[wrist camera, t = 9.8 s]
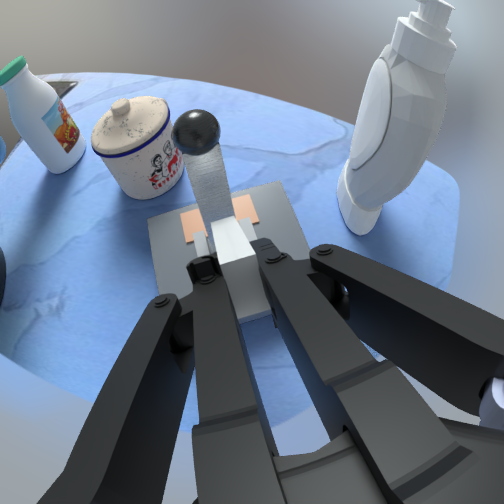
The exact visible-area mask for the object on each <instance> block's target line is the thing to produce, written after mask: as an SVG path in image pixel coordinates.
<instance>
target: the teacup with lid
mask: <svg viewBox="0 0 504 504" xmlns="http://www.w3.org/2000/svg"><path fill="white" fill-rule="evenodd" d="M172 130H173V127H172V124H171V120H170V110H169V107H168V104H167V102H166V100H165V99H162V98H156V97H152V96H141V97H135V98H132V99H129V100H128V99H125V98H123V99H119V100H117V101H116V102H114V103H113V104H112V106H111V109H110V110H109V111H108V112H106V113H105V114H104V115H103V116H102V117H101V118H100V120H99V121H98V122H97V124H96V125H95V127H94V129H93V132H92V136H91V143H92V148H93V150H94V152H95V153H96V154H97V155H99V156H100V157H101V158H102V160H103V162H104V163H105V165H106V166H107V168H108V169H109V171H110V172H111V174H112V175H113V177H114V178H115V179H116V181H117V182H118V184H119V185H120V187H121V188H122V190H123V191H124V192H125V193H126V194H127V195H128V196H130V197H132V198H135V199H140V200H145V199H151V198H155V197H157V196H160V195H162V194H164V193H165V192H167V191H168V190H169V189H171V188H172V187H173V186H174V185H175V184H176V183H177V181H178V180H179V178H180V177H181V175H182V172H183V168H184V160H183V157H182V154H181V151H180V150H179V149H178V148H177V147H176V145H175V144H174V141H173V138H172Z"/></svg>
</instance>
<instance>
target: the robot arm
mask: <svg viewBox="0 0 504 504" xmlns="http://www.w3.org/2000/svg"><path fill="white" fill-rule="evenodd" d="M5 155H6V145H5V143H4V141H3V139H2V137H1V136H0V164H1V162H2V161H3V160H4V158H5ZM211 227H212V232H213V237H214V242H215V247H216V251H217V252H216V253H213V254H210V255H204V256H200V257H198V258H195V259H193V260H192V261H190V262H189V263H188V264H187V266H186V268H187V271H188V274H189V276H190V279H191V282H192V284H193V291H192V292H191V293H190V294H188V295H187V296H185V297H183V298H181V299H179V300H178V297H177V296H176V294H173V293H166V294H161V295H159V296H157V297H155V298H154V299H153V300H151V301H150V303H149V304H148V305H147V307H146V309H145V310H144V312H143V314H142V315H141V317H140V319H139V321H138V322H137V324H136V326H135V328H134V329H133V331H132V333H131V335H130V336H129V338H128V340H127V342H126V344H125V345H124V347H123V349H122V351H121V353H120V354H119V356H118V358H117V360H116V362H115V364H114V366H113V367H112V369H111V371H110V373H109V375H108V377H107V379H106V381H105V383H104V385H103V387H102V389H101V391H100V393H99V395H98V397H97V399H96V401H95V403H94V405H93V407H92V409H91V411H90V413H89V415H88V417H87V419H86V421H85V423H84V425H83V428H82V430H81V432H80V434H79V436H78V439H77V441H76V443H75V445H74V448H73V450H72V452H71V455H70V457H69V459H68V462H67V464H66V466H65V469H64V471H63V472H62V473H61V475H60V476H59V477H58V478H57V479H56V481H55V482H54V483H53V484H52V486H51V487H50V488H49V489H48V490H47V492H46V493H45V494H44V495H43V496H42V498H41V499H40V500H39V501H38V503H37V504H161V503H162V500H163V495H164V490H165V486H166V481H167V477H168V473H169V468H170V464H171V460H172V455H173V451H174V447H175V442H176V438H177V434H178V430H179V426H180V422H181V418H182V414H183V410H184V406H185V402H186V398H187V394H188V390H189V386H190V382H191V379H192V375H193V371H194V367H195V369H196V385H197V398H198V411H199V424H198V425H194V426H193V428H192V445H193V456H194V468H195V476H196V485H197V494H198V497H197V499H196V500H195V501H194V502H193V503H192V504H504V320H503V319H501V318H498V317H497V316H495V315H493V314H491V313H489V312H487V311H485V310H482V309H481V308H478V307H476V306H474V305H472V304H470V303H468V302H466V301H464V300H462V299H459V298H457V297H455V296H453V295H451V294H449V293H446V292H444V291H442V290H440V289H438V288H436V287H433V286H431V285H429V284H427V283H424V282H422V281H420V280H418V279H415V278H413V277H411V276H409V275H406V274H404V273H402V272H399V271H397V270H395V269H392V268H390V267H388V266H385V265H383V264H381V263H378V262H376V261H373V260H371V259H369V258H366V257H364V256H361V255H359V254H357V253H354V252H352V251H349V250H347V249H344V248H342V247H339V246H337V245H333V244H324V245H323V244H322V245H319V246H317V247H315V248H313V249H311V250H310V252H309V256H310V259H303V260H293V258H292V257H291V256H290V255H289V254H287V253H284V252H280V251H279V249H278V248H277V247H276V246H275V245H274V244H273V242H272V241H271V240H270V239H268V238H260V239H257V240H254V241H250V242H249V241H248V239H247V238H246V236H245V234H244V232H243V231H242V229H241V227H240V225H239V224H238V222H237V220H236V218H235V217H234V216H231V217H228V218H224V219H221V220H218V221H214V222H211ZM4 285H5V258H4V254H3V251H2V249H1V248H0V304H1V300H2V296H3V291H4ZM344 286H345V287H346V289H347V291H348V292H346V291H345V288H344ZM268 303H269V304H268ZM269 305H270V307H269ZM270 308H271V312H272V316H273V320H274V324H275V328H278V329H279V331H280V333H281V335H282V337H283V339H284V342H285V344H286V346H287V348H288V350H289V352H290V354H291V357H292V359H293V361H294V363H295V365H296V367H297V369H298V372H299V374H300V376H301V378H302V380H303V382H304V384H305V387H306V389H307V391H308V393H309V395H310V397H311V399H312V401H313V404H314V406H315V408H316V410H317V412H318V414H319V416H320V418H321V420H322V423H323V425H324V427H325V429H326V431H327V433H328V435H329V438H330V441H331V442H329V443H328V444H327V445H325V446H323V447H322V448H320V449H319V450H317V451H315V452H312V453H307V454H299V455H289V456H279V453H278V450H277V447H276V444H275V441H274V438H273V435H272V431H271V428H270V425H269V422H268V419H267V416H266V412H265V409H264V406H263V403H262V399H261V396H260V393H259V389H258V386H257V383H256V379H255V376H254V373H253V369H252V366H251V362H250V359H249V356H248V352H247V349H246V345H245V342H244V338H243V335H242V331H241V327H240V324H239V321H238V319H239V318H242V317H246V316H249V315H252V314H255V313H259V312H262V311H265V310H268V309H270ZM360 340H361V341H363V342H364V343H365V344H367V345H368V346H370V347H371V348H372V349H374V350H375V351H377V352H378V353H379V354H381V355H382V356H384V357H385V358H386V359H388V360H386V359H385V360H383V361H381V362H378V361H377V360H376V359H375V358H374V357H373V356H372V355H371V353H370V352H369V351H368V349H367V348H366V347H365V346H364V344H363V343H362V342H361V341H360ZM397 366H398V367H399V368H401V369H402V370H403V371H405V372H406V373H407V374H409V375H410V376H412V377H413V378H414V379H416V380H418V381H419V382H420V383H422V384H423V385H425V386H426V387H427V388H429V389H430V390H431V391H433V392H435V393H436V394H437V395H438V396H440V397H442V398H443V399H444V400H446V401H447V402H449V403H450V404H452V405H453V406H455V407H457V408H458V409H461V410H463V411H465V412H467V413H469V414H472V415H475V416H478V417H480V419H481V421H480V424H479V426H478V425H472V424H467V423H463V422H458V421H454V420H449V419H445V418H441V417H437V416H436V414H435V413H434V412H433V411H432V409H431V408H430V407H429V406H428V404H427V403H426V402H425V401H424V399H423V398H422V397H421V396H420V394H419V393H418V392H417V391H416V389H415V388H414V387H413V386H412V385H411V383H410V382H409V381H408V380H407V378H406V377H405V376H404V375H403V374H402V372H401V371H400V370H399V369H398V368H397Z"/></svg>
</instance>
